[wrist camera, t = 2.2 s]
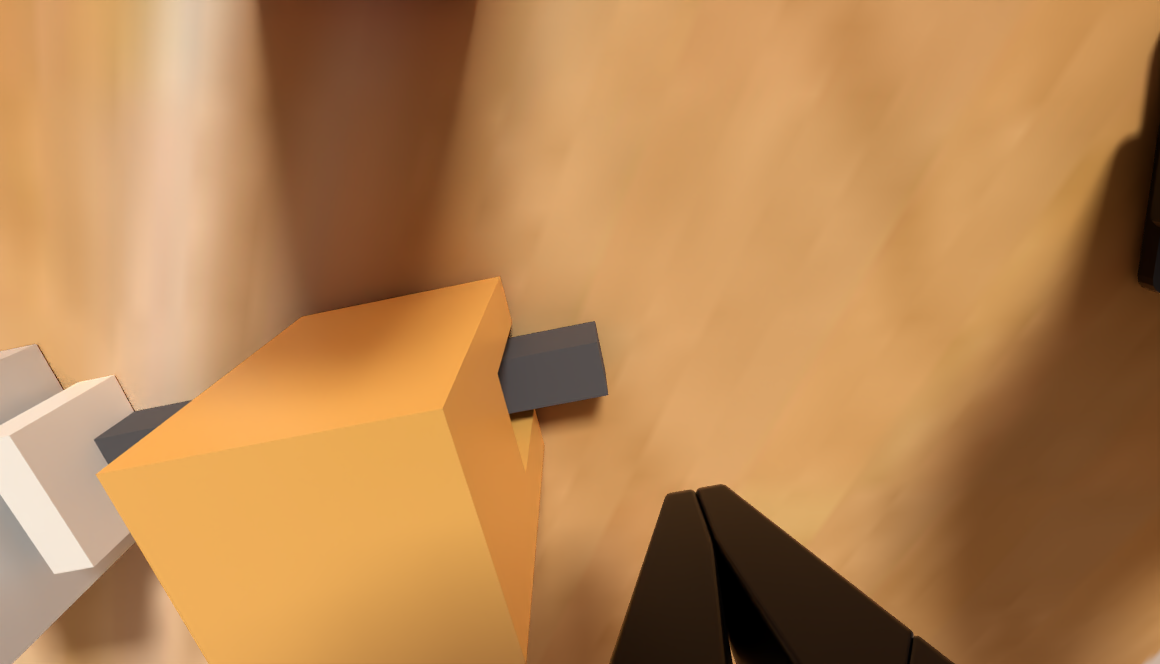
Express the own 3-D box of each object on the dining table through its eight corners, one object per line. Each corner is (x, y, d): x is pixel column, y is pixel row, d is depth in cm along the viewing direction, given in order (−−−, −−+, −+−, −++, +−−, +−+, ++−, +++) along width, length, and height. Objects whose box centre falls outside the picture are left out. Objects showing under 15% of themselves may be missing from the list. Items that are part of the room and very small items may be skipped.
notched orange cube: (499, 276, 14) (442, 408, 8) (544, 445, 16) (526, 663, 9) (302, 316, 14) (95, 474, 8) (366, 478, 16) (236, 710, 10)
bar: (595, 320, 15) (596, 341, 13) (605, 370, 15) (608, 395, 14) (-21, 441, 16) (-75, 472, 14) (7, 484, 16) (-43, 517, 15)
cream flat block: (113, 375, 15) (9, 435, 12) (175, 488, 16) (93, 567, 14) (78, 382, 15) (-35, 444, 12) (142, 494, 16) (54, 574, 14)
